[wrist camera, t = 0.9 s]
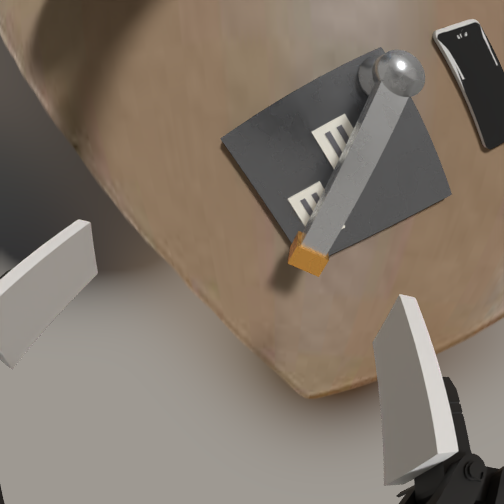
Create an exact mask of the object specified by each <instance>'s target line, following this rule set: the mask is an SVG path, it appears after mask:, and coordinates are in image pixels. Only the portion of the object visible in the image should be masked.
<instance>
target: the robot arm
mask: <svg viewBox="0 0 504 504" xmlns="http://www.w3.org/2000/svg"><path fill="white" fill-rule="evenodd" d="M97 274H98V271H97V265H96V258H95V252H94V245H93V238H92V230H91V222H88V221H83V220H80V219H79V220H77V221H75V222H74V223H72V224H71V225H69V226H68V227H67V228H65V229H64V230H63V231H61V232H60V233H58V234H57V235H56V236H54V237H53V238H51V239H50V240H49V241H47V242H46V243H45V244H43V245H42V246H41V247H39V248H38V249H37V250H36V251H35V252H33V253H32V254H31V255H29V256H28V257H27V258H25V259H24V260H23V261H22V262H20V263H19V264H18V265H17V266H16V267H15V268H13V269H11V270H9V271H7V272H6V273H5V274H4V275H2V276H1V277H0V360H1V361H2V362H3V363H5V364H6V365H7V366H8V367H10V368H11V369H13V368H14V366H15V365H16V364H17V363H18V362H19V360H20V359H21V358H22V357H23V355H24V354H25V352H27V350H28V349H29V348H30V347H31V346H32V344H33V343H34V342H35V341H36V340H37V339H38V337H39V336H40V335H41V334H42V333H43V332H44V330H45V329H46V328H47V327H48V326H49V325H50V324H51V322H52V321H53V320H54V319H55V318H56V317H57V316H58V315H59V314H60V312H61V311H62V310H63V309H64V308H65V307H66V306H67V305H68V304H69V303H70V302H71V301H72V299H73V298H74V297H75V296H76V295H77V294H78V293H79V292H80V291H81V290H82V289H83V288H84V287H85V286H86V285H87V284H88V283H89V282H90V281H91V280H92V279H93V278H94V277H95V276H96V275H97ZM373 348H374V355H375V362H376V370H377V378H378V387H379V395H380V406H381V419H382V434H383V455H384V486H386V485H400V484H405V483H407V482H409V481H411V480H412V479H414V481H415V485H414V486H412V487H410V488H408V489H406V490H404V491H402V492H400V493H399V494H398V495H397V497H401V496H403V495H405V494H406V495H405V496H404V497H403V499H402V500H401V501H400V503H399V504H504V467H502V468H500V469H496V468H491V467H486V466H485V464H484V462H483V460H482V459H481V458H480V457H479V456H478V455H475V454H472V453H471V450H470V445H469V440H468V435H467V430H466V425H465V421H464V417H463V414H462V409H461V405H460V404H459V397H458V393H457V390H456V388H455V386H454V385H453V383H452V381H451V380H450V378H449V377H442V375H441V372H440V368H439V364H438V361H437V358H436V355H435V351H434V348H433V345H432V342H431V339H430V336H429V333H428V331H427V328H426V325H425V322H424V319H423V317H422V314H421V311H420V309H419V306H418V303H417V301H416V298H415V297H410V296H406V295H401V294H399V296H398V298H397V300H396V302H395V304H394V305H393V307H392V309H391V311H390V313H389V315H388V316H387V318H386V320H385V322H384V324H383V325H382V327H381V329H380V331H379V332H378V334H377V336H376V337H375V339H374V341H373ZM0 504H4V500H3V496H2V491H1V486H0Z"/></svg>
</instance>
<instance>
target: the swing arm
mask: <svg viewBox="0 0 504 504" xmlns="http://www.w3.org/2000/svg"><path fill="white" fill-rule="evenodd" d="M372 76H373V80H374V82H375V83H374V86H373V88H372V90H371V92H370V95H369V97H368V99H367V101H366V103H365V105H364V108H363V110H362V112H361V114H360V116H359V118H358V121H357V123H356V125H355V127H354V129H353V131H352V133H351V135H350V138H349V140H348V142H347V144H346V146H345V148H344V150H343V152H342V154H341V156H340V158H339V160H338V163H337V165H336V167H335V169H334V171H333V173H332V175H331V177H330V179H329V181H328V183H327V185H326V187H325V189H324V191H323V193H322V195H321V197H320V199H319V201H318V203H317V205H316V207H315V209H314V211H313V213H312V215H311V217H310V218H309V220H308V222H307V224H306V226H305V228H304V230H303V232H300V231H298V233H297V235H296V237H295V239H294V241H293V243H292V244H291V246H290V252H289V258H288V264H290V265H292V266H295V267H297V268H299V269H302V270H304V271H306V272H309V273H311V274H313V275H316V276H318V277H319V275H320V274H321V272H322V271H323V269H324V267H325V266H326V264H327V262H328V261H329V256H328V251H329V250H330V248H331V246H332V245H333V243H334V241H335V239H336V238H337V236H338V234H339V232H340V231H341V229H342V227H343V225H344V224H345V222H346V220H347V218H348V217H349V215H350V213H351V211H352V209H353V208H354V206H355V204H356V202H357V200H358V198H359V197H360V195H361V193H362V191H363V189H364V187H365V185H366V183H367V182H368V180H369V178H370V176H371V174H372V172H373V170H374V168H375V166H376V164H377V162H378V160H379V158H380V156H381V154H382V152H383V150H384V148H385V146H386V144H387V142H388V140H389V138H390V136H391V134H392V132H393V130H394V128H395V126H396V124H397V122H398V119H399V117H400V115H401V113H402V111H403V109H404V107H405V104H406V102H407V100H408V98H409V97H411V96H414V95H416V94H418V93H419V92H420V91H421V90H422V88H423V86H424V83H425V73H424V70H423V67H422V65H421V63H420V62H419V61H418V60H417V58H416V57H414V56H413V55H412V54H410V53H408V52H406V51H403V50H392V51H389V52H387V53H385V54H383V55H382V56H380V57H379V58H377V59H376V61H375V62H374V64H373V67H372Z"/></svg>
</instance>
